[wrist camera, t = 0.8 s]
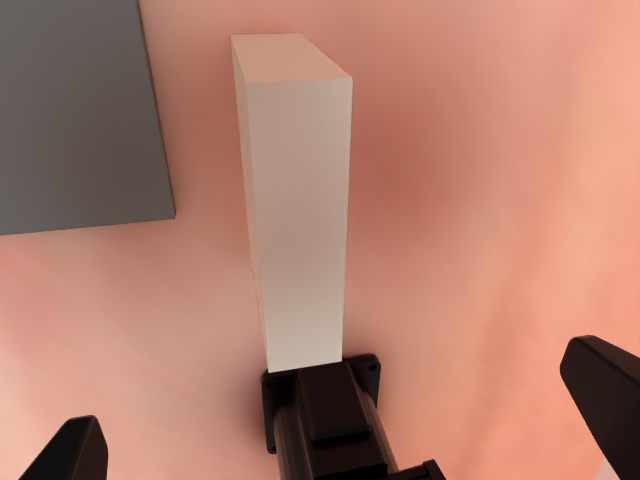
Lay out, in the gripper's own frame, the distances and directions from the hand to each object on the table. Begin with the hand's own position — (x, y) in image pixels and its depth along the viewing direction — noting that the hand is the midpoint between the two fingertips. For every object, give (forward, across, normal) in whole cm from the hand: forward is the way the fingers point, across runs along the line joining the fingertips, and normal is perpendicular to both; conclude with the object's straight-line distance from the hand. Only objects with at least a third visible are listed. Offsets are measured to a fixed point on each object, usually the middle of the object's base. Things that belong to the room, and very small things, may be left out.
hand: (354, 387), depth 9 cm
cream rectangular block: (+12, 0, 0) cm, 12 cm away
